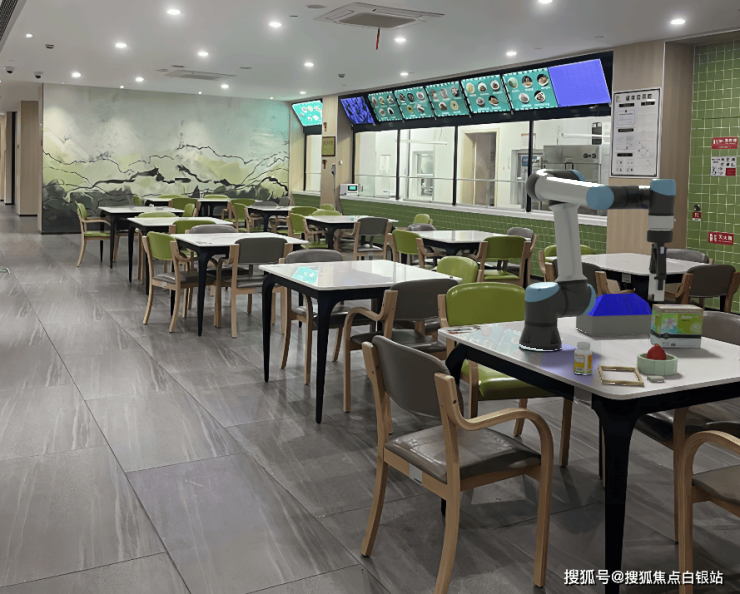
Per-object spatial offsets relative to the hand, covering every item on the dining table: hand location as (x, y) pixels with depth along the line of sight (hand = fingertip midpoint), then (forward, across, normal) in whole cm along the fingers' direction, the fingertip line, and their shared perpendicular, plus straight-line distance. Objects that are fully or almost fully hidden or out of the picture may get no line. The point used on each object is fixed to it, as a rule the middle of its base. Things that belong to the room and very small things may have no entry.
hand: (655, 297), depth 228 cm
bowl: (+23, -2, -1) cm, 23 cm away
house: (+24, +62, +7) cm, 67 cm away
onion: (+22, -2, -1) cm, 23 cm away
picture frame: (+23, -14, +11) cm, 29 cm away
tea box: (+24, +39, -13) cm, 47 cm away
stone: (+23, -15, +1) cm, 28 cm away
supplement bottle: (+23, -11, +22) cm, 34 cm away
